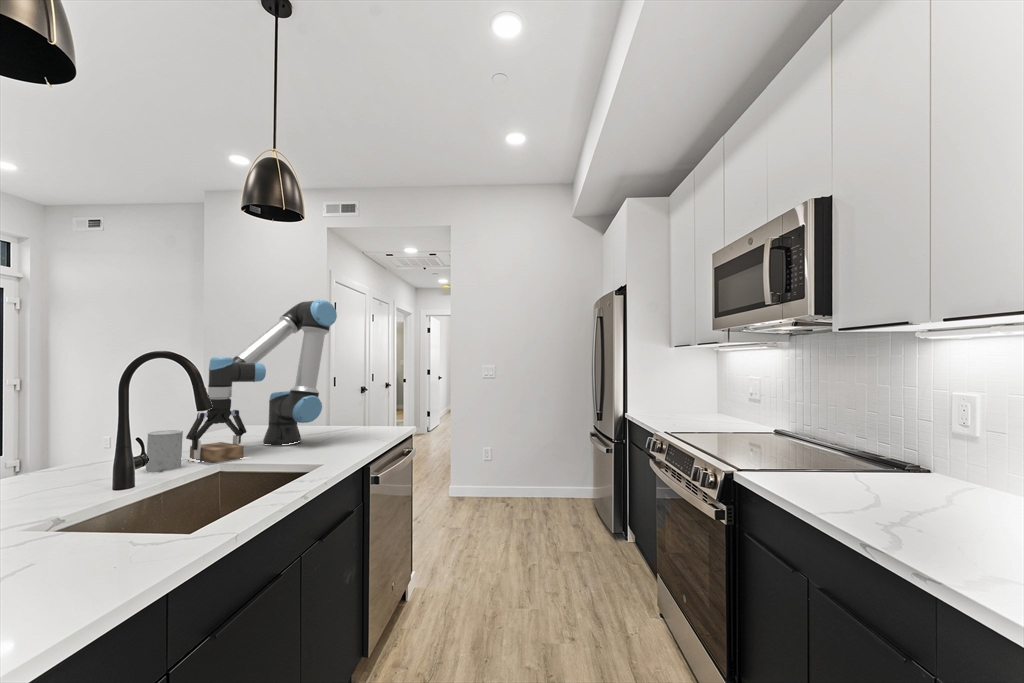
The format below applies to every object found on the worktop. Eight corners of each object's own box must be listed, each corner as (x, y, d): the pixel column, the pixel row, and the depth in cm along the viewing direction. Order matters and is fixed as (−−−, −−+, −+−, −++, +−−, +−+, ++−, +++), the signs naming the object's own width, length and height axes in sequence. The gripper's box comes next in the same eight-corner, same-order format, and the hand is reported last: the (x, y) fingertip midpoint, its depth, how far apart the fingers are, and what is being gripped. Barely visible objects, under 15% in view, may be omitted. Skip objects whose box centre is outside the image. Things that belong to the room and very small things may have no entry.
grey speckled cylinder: (166, 472, 148) (168, 434, 149) (137, 472, 149) (139, 434, 149) (188, 466, 158) (189, 430, 159) (160, 465, 158) (162, 430, 159)
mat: (223, 452, 182) (223, 451, 182) (253, 458, 172) (253, 457, 172) (178, 459, 168) (178, 458, 168) (208, 466, 158) (208, 465, 158)
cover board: (220, 453, 178) (221, 442, 179) (243, 457, 171) (243, 445, 171) (189, 458, 169) (190, 446, 169) (212, 463, 162) (212, 450, 162)
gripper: (246, 396, 184) (244, 449, 183) (176, 399, 162) (173, 460, 161) (258, 397, 180) (255, 451, 179) (188, 400, 158) (184, 462, 157)
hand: (216, 455), depth 170 cm, fingers open, 13 cm apart
